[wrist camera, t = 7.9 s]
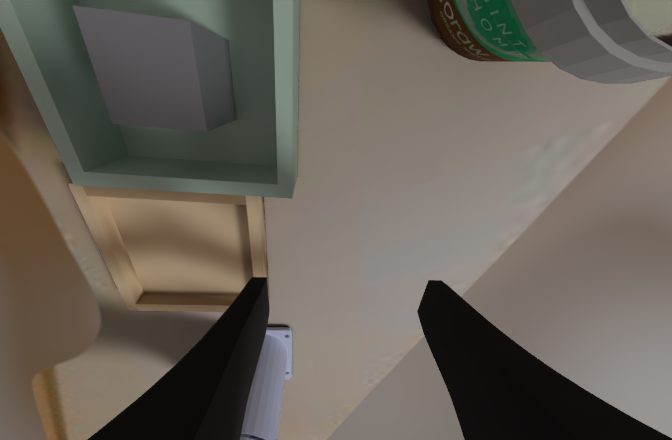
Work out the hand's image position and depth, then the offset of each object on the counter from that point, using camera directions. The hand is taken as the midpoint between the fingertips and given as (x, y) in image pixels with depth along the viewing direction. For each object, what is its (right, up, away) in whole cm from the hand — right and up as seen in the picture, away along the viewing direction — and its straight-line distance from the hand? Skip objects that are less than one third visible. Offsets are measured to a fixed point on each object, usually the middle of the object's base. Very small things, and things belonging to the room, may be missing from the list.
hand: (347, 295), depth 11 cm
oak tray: (-12, +1, +9) cm, 15 cm away
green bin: (-9, +12, +3) cm, 15 cm away
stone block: (-8, +12, +3) cm, 15 cm away
